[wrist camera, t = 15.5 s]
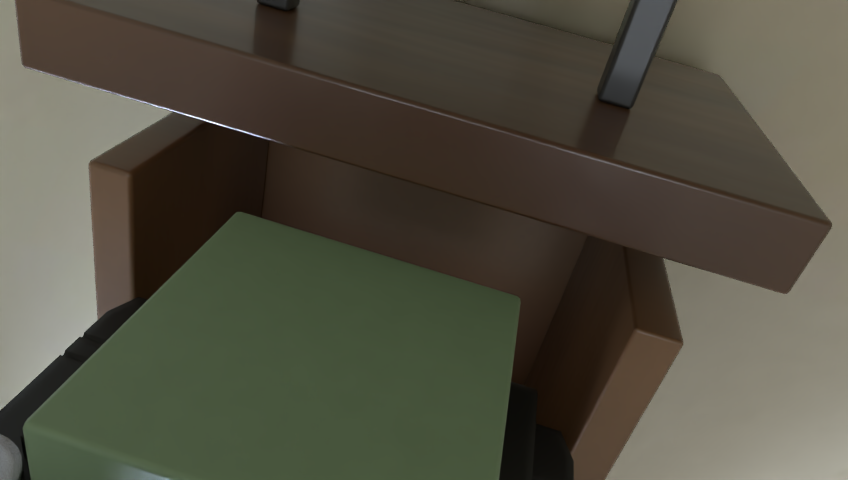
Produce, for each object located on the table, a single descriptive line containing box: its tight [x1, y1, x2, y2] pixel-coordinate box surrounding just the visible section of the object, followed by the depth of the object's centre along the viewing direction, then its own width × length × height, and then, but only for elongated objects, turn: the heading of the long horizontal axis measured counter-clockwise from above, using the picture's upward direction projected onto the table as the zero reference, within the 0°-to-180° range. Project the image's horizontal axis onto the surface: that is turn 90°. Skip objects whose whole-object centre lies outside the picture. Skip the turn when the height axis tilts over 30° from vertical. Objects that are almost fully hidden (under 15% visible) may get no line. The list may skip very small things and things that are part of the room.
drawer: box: [15, 0, 832, 480], centre depth 14 cm, size 18×12×7 cm, turn 167°
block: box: [23, 212, 521, 480], centre depth 9 cm, size 5×5×5 cm
